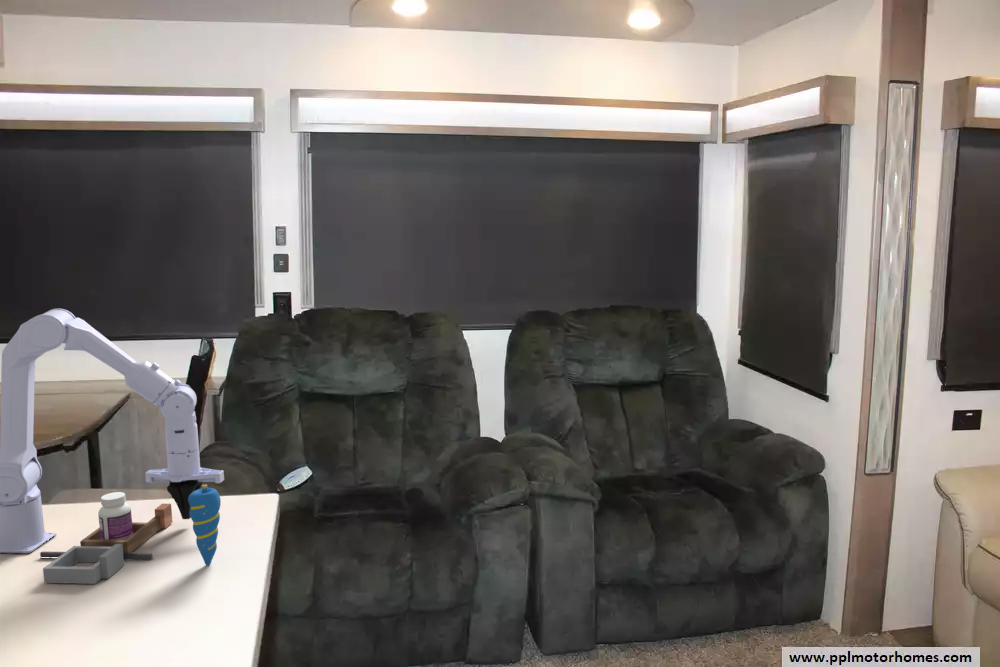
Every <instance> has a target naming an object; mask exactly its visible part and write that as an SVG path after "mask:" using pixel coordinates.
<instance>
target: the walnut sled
mask: <svg viewBox="0 0 1000 667" xmlns="http://www.w3.org/2000/svg"><path fill="white" fill-rule="evenodd" d="M172 511H173V510H172V504H171V503H161V504H159V505H158V506H157V507H155V509H154V517H152V518H151V519H150V520H148V521H147V522H137V521H136V522H133V521H132V526H133V534H132V535H131V536H130V537H129V538H127V539H126V540H101V534H100V526H99V527H98V528H96V529H95V530H94V531H93V532H91V533H90V534H88V535H87V536H86V537H84V538H83V539H81V540H80V543H79V544H80V545H79V546H106V547H112V546H114V545H115V544H122V547H123V553H134V552H135V551H136V550H137V549H138V548H139V547H140V546H142V545H143V544H145V542H147V541H148V540H149V539H150V538H152V536H153V535H154V534H156V533H157V532H158V531H159V530H160V529H167V528H168V527H170V525H171V524H173V512H172Z"/></svg>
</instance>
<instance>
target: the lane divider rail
mask: <svg viewBox="0 0 1000 667" xmlns="http://www.w3.org/2000/svg"><path fill="white" fill-rule="evenodd" d="M65 552H66V551H41V552H39V555H40V558H41V557H59V556H61V555H62V554H64V553H65ZM123 558H124V559H129V560H130V561H131V560H132V561H151V560H153V553H152V552H132V553H123Z"/></svg>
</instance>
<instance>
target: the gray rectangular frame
mask: <svg viewBox="0 0 1000 667" xmlns="http://www.w3.org/2000/svg"><path fill="white" fill-rule="evenodd" d="M64 552H65V553H64V554H62V555H61V556H59V557H58V558H57V559H54V560H53V561H51V562H50V563H49V564H47V565H45V567H42V572H43V582H44V583H45V584H86V585H87V584H92V585H93V584H95V585H96V584H97V583H98V582H99V581H100V580H101V579H110V578H111V577H112V576H113V575H114V574H116V572H118V571H119V570H120V569H121V568H122V567H124V566H125V560H124V558H123V547H122V544H115V545H114V546H112V547H106V546H81V545H73V546H71V548H69V549H67V550H66V551H64ZM78 562H79V563H80V562H81V563H82V562H83V563H85V562H86V563H95V564H94V565H92V566H74V564H76V563H78Z"/></svg>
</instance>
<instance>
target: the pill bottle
mask: <svg viewBox="0 0 1000 667" xmlns="http://www.w3.org/2000/svg"><path fill="white" fill-rule="evenodd" d="M126 497H127V496H126V494H125V492H122V491H117V492H116V491H115V492H109V493H106V494H103V495H102V496H101V497H100V504H101V507H100V508H99V510H98V524H99V527H100V534H101V540H126V539H127V538H129V537H130V536H131V535H132V534H133V526H132V522H133V517H132V516H133V515H132V508H131V506H130V504H128V503H127V502H126V500H127V498H126Z"/></svg>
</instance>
